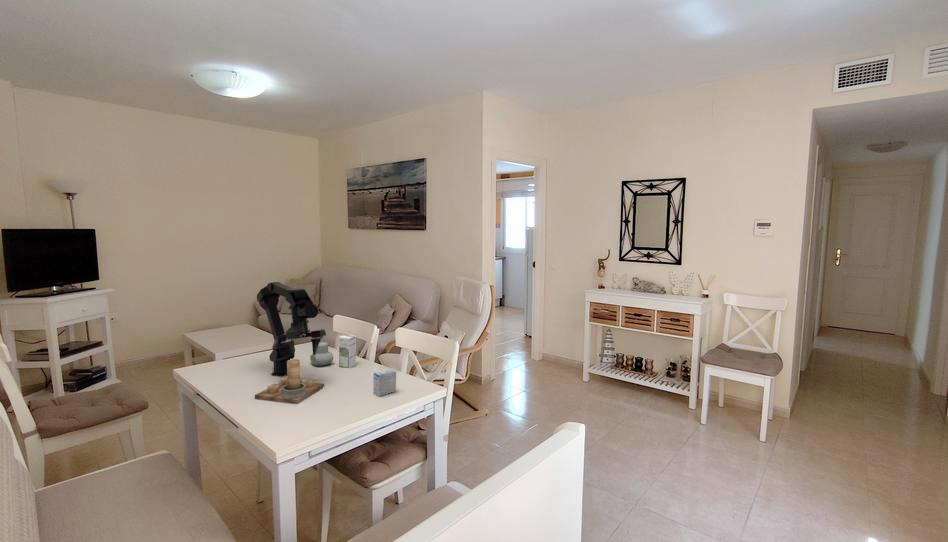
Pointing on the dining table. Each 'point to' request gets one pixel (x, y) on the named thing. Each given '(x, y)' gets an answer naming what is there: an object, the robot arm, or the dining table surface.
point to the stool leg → (293, 374)
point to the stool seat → (289, 391)
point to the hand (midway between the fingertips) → (304, 356)
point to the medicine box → (384, 382)
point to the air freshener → (322, 355)
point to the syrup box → (347, 351)
